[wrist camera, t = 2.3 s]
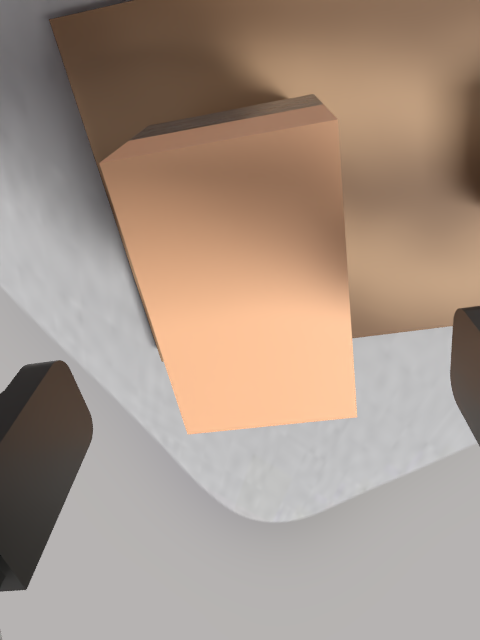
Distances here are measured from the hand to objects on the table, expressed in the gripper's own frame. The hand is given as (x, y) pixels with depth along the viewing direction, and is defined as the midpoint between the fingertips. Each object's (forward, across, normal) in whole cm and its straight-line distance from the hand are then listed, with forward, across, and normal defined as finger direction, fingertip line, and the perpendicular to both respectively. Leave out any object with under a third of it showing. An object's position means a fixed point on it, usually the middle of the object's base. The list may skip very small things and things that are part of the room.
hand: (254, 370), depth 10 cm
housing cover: (+5, 0, 0) cm, 5 cm away
